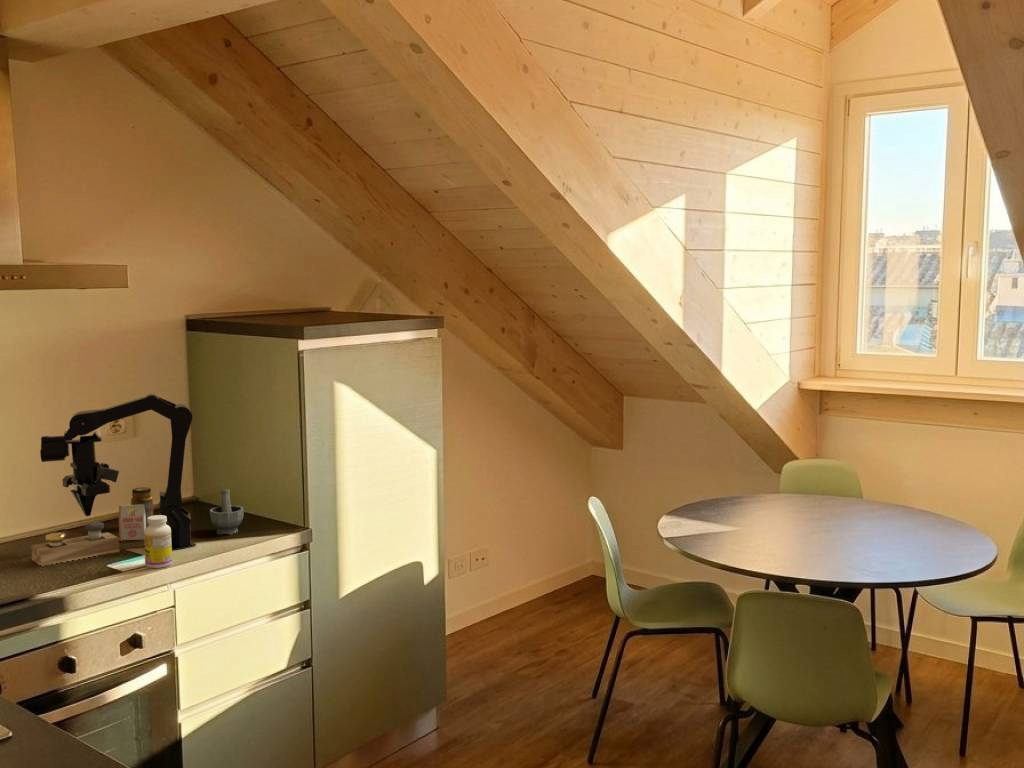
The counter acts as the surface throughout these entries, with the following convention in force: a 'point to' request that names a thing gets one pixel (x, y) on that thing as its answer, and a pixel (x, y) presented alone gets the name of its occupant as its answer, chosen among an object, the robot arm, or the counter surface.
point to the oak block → (74, 549)
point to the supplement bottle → (157, 542)
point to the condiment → (143, 500)
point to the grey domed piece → (94, 530)
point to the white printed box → (132, 522)
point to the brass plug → (55, 539)
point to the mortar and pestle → (226, 515)
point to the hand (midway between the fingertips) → (87, 515)
